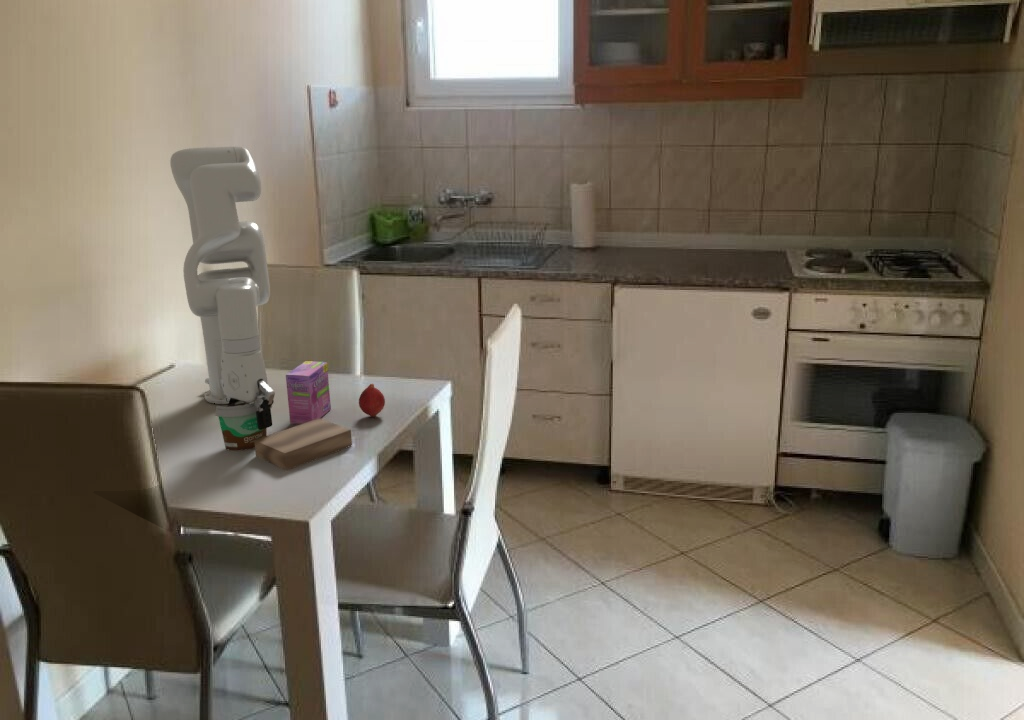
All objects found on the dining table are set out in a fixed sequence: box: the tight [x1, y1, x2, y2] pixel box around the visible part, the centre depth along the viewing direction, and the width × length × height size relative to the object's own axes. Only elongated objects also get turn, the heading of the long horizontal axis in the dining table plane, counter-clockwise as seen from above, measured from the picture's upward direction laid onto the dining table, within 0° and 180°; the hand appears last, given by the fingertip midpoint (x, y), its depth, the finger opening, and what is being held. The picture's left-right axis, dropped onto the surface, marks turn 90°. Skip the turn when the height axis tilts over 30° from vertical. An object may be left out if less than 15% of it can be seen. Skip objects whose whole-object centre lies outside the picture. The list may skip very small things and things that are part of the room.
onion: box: [358, 383, 386, 418], centre depth 193 cm, size 6×6×8 cm
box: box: [285, 360, 332, 425], centre depth 193 cm, size 10×6×12 cm, turn 168°
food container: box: [214, 400, 268, 451], centre depth 178 cm, size 12×6×10 cm, turn 148°
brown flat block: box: [254, 418, 353, 471], centre depth 175 cm, size 11×16×4 cm
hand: (251, 423), depth 178 cm, fingers open, 9 cm apart
